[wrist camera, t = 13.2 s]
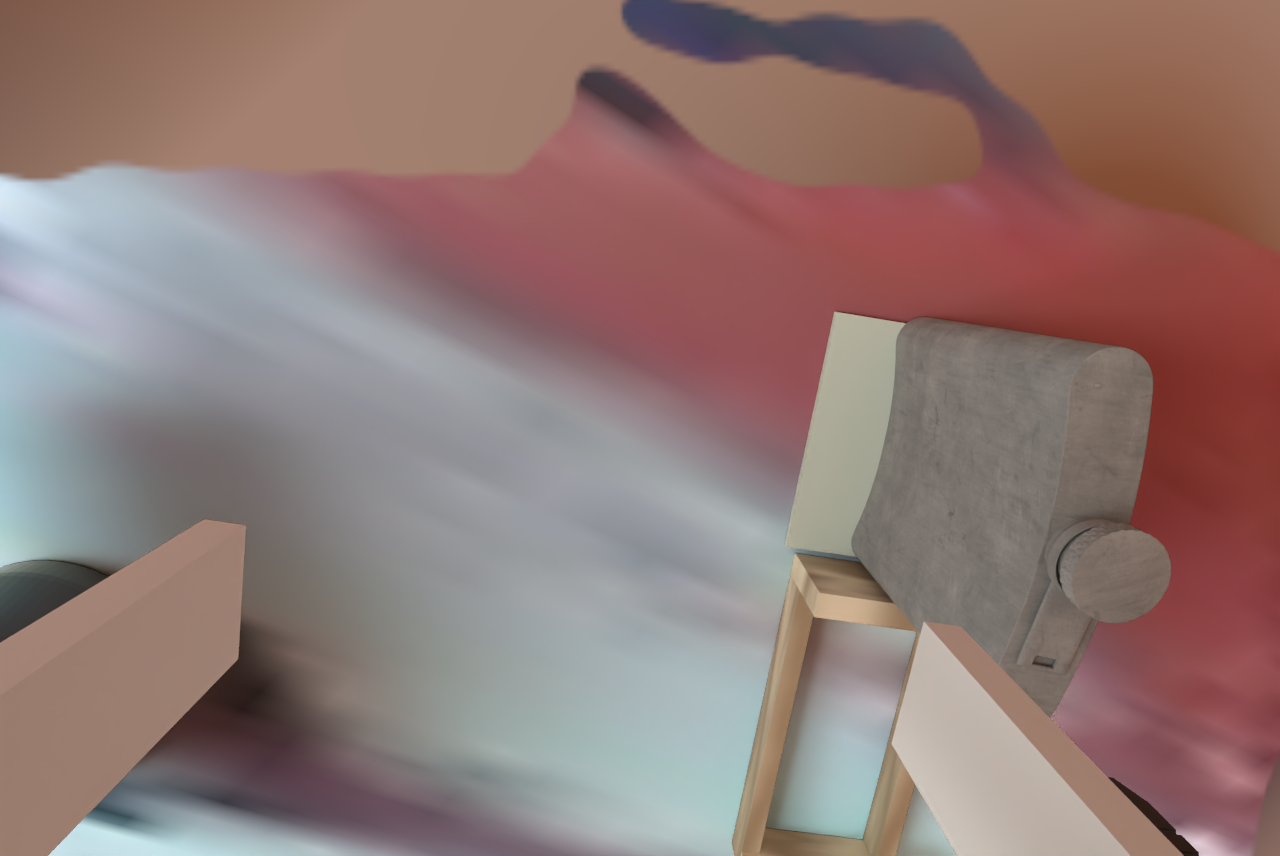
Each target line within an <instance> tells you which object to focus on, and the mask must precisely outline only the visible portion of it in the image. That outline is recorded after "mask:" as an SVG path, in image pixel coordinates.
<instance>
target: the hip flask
mask: <svg viewBox="0 0 1280 856" xmlns="http://www.w3.org/2000/svg"><path fill="white" fill-rule="evenodd" d="M1152 396H1153V375H1152V371H1151V368H1150V366H1149V364H1148V363H1147V361H1146V360H1145V359H1144V357H1142V356H1141V355H1140V354H1139V353H1137V352H1136V351H1133V350H1131V349H1129V348H1124V347H1119V346H1113V345H1106V344H1100V343H1093V342H1087V341H1080V340H1074V339H1067V338H1061V337H1054V336H1048V335H1041V334H1035V333H1028V332H1022V331H1015V330H1009V329H1002V328H996V327H989V326H983V325H976V324H970V323H963V322H957V321H950V320H944V319H937V318H931V317H918V318H915V319H912V320H911V321H909V322H907V323H906V324H905V325H904V326H903V327H902V329H901V330H900V332H899V334H898V336H897V339H896V361H895V378H894V388H893V396H892V404H891V411H890V416H889V422H888V427H887V432H886V436H885V440H884V445H883V449H882V453H881V458H880V461H879V465H878V469H877V472H876V476H875V479H874V482H873V485H872V488H871V491H870V494H869V497H868V500H867V502H866V505H865V508H864V510H863V513H862V515H861V517H860V520H859V522H858V524H857V526H856V528H855V531H854V533H853V535H852V540H851V547H852V550H853V552H854V554H855V556H856V557H857V558H858V559H859V561H860V562H861V563H862V564H863V565H864V567H865V568H866V569H867V570H868V571H869V573H870V574H871V575H872V576H873V578H874V579H875V580H876V581H877V582H878V584H879V585H880V586H881V587H882V589H883V590H884V591H885V592H886V593H887V595H888V596H889V597H890V598H891V599H892V601H893V602H894V603H895V604H896V606H897V607H898V608H899V609H900V610H901V612H902V613H903V614H904V615H905V616H906V618H907V619H908V620H909V621H910V623H911V624H912V625H913V626H914V627H915V629H916V630H917V631H918V632H919V634H921V630H922V627H923V623H924V621H926V622H933V623H940V624H947V625H954V626H961V627H962V628H963V629H964V630H965V631H966V632H967V633H968V634H969V635H970V636H971V637H972V638H973V639H974V640H975V642H976V643H977V644H978V645H979V646H980V647H981V648H982V649H983V650H984V651H985V652H986V653H987V654H988V655H989V656H990V657H991V658H992V659H993V660H994V661H995V662H996V663H997V664H998V665H999V666H1000V667H1001V668H1002V669H1003V670H1004V671H1005V672H1006V673H1007V674H1008V675H1009V676H1010V677H1011V679H1012V680H1013V681H1014V682H1015V683H1016V684H1017V685H1018V686H1019V687H1020V688H1021V689H1022V690H1023V691H1024V692H1025V693H1026V694H1027V695H1028V696H1029V697H1030V698H1031V699H1032V700H1033V701H1034V702H1035V703H1036V704H1037V705H1038V706H1039V707H1040V708H1041V709H1042V710H1043V711H1044V712H1045V713H1046V714H1047V716H1048V717H1050V716H1051V715H1052V714H1053V713H1054V711H1055V710H1056V708H1057V706H1058V704H1059V703H1060V701H1061V699H1062V697H1063V695H1064V693H1065V691H1066V690H1067V688H1068V686H1069V684H1070V682H1071V680H1072V678H1073V676H1074V674H1075V672H1076V670H1077V668H1078V666H1079V664H1080V662H1081V659H1082V657H1083V655H1084V653H1085V650H1086V648H1087V646H1088V644H1089V641H1090V639H1091V637H1092V634H1093V632H1094V629H1095V627H1096V624H1097V622H1098V620H1099V621H1101V622H1108V623H1111V624H1113V623H1124V622H1126V621H1132V620H1134V619H1135V618H1139V617H1141V616H1142V615H1144V614H1145V613H1147V612H1149V611H1150V610H1151V609H1152V608H1153V607H1154V606H1156V605H1157V604H1158V602H1159V600H1160V599H1161V598H1162V597H1163V596H1164V592H1165V591H1166V590H1167V589H1168V584H1169V582H1170V579H1171V577H1170V574H1171V571H1172V569H1171V566H1170V565H1171V560H1170V559H1169V557H1168V552H1167V551H1166V550H1165V548H1164V545H1163V544H1161V543H1160V542H1159V541H1158V539H1156V538H1154V537H1152V536H1151V535H1150V534H1148V533H1144V532H1143V531H1142V530H1140V529H1137V528H1134V527H1133V526H1132V525H1129V524H1130V520H1131V517H1132V513H1133V509H1134V505H1135V501H1136V496H1137V491H1138V487H1139V482H1140V478H1141V473H1142V467H1143V462H1144V456H1145V451H1146V445H1147V438H1148V431H1149V423H1150V416H1151V406H1152Z"/></svg>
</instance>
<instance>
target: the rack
mask: <svg viewBox="0 0 1280 856" xmlns="http://www.w3.org/2000/svg"><path fill="white" fill-rule="evenodd" d="M813 616H814V617H817V618H824V619H831V620H838V621H846V622H853V623H860V624H867V625H874V626H881V627H889V628H896V629H903V630H910V631H917V630H916V629H915V627H914V626H913V625H912V624H911V623H910V621H909V620H908V619H907V618H906V616H905V615H904V614H903V613H902V612H901V610H900V609H899V608H898V607H897V606H896V604H895V603H894V602H893V601H892V599H891V598H890V597H889V596H888V595H887V593H886V592H885V591H884V590H883V589H882V587H881V586H880V585H879V584H878V582H877V581H876V580H875V579H874V578H873V576H872V575H871V574H870V573H869V571H868V570H867V569H866V568H865V567H864V565H863V564H862V563H861V562H854V561H847V560H840V559H833V558H827V557H820V556H813V555H806V554H799V553H795V556H794V561H793V565H792V570H791V574H790V579H789V583H788V588H787V593H786V597H785V602H784V606H783V611H782V615H781V620H780V625H779V629H778V634H777V638H776V643H775V648H774V652H773V657H772V661H771V666H770V670H769V675H768V680H767V684H766V689H765V693H764V698H763V703H762V707H761V712H760V716H759V721H758V725H757V730H756V735H755V739H754V744H753V748H752V753H751V758H750V762H749V767H748V771H747V776H746V780H745V785H744V790H743V794H742V799H741V803H740V808H739V813H738V817H737V822H736V826H735V831H734V835H733V840H732V845H733V850H734V856H896V852H897V849H898V845H899V841H900V838H901V834H902V830H903V827H904V823H905V819H906V816H907V812H908V808H909V805H910V801H911V797H912V794H913V790H914V786H915V783H914V781H913V780H912V778H911V776H910V775H909V773H908V771H907V770H906V768H905V766H904V764H903V763H902V761H901V759H900V758H899V756H898V754H897V752H896V751H895V749H894V747H893V746H892V744H891V743H892V739H893V736H894V732H895V728H896V724H897V721H898V717H899V713H900V709H901V706H902V702H903V698H904V694H905V691H906V687H907V683H908V679H909V675H910V672H911V668H912V664H913V660H914V657H915V653H916V649H917V645H918V642H919V638H920V634H919V632H918V631H917V633H916V637H915V641H914V645H913V649H912V653H911V656H910V660H909V664H908V668H907V672H906V676H905V679H904V683H903V687H902V691H901V695H900V699H899V702H898V706H897V710H896V714H895V718H894V722H893V725H892V729H891V733H890V737H889V741H888V745H887V748H886V752H885V756H884V760H883V764H882V768H881V771H880V775H879V779H878V783H877V787H876V791H875V794H874V798H873V802H872V806H871V810H870V814H869V818H868V821H867V825H866V829H865V833H864V837H863V840H860V839H852V838H844V837H835V836H827V835H819V834H811V833H803V832H794V831H786V830H778V829H770V828H765V826H766V822H767V817H768V813H769V809H770V804H771V800H772V795H773V791H774V787H775V782H776V778H777V774H778V769H779V765H780V760H781V756H782V752H783V747H784V743H785V738H786V734H787V730H788V725H789V721H790V717H791V712H792V708H793V703H794V699H795V695H796V690H797V686H798V681H799V677H800V673H801V668H802V664H803V660H804V655H805V651H806V646H807V642H808V638H809V633H810V629H811V624H812V620H813Z"/></svg>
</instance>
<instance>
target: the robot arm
mask: <svg viewBox="0 0 1280 856" xmlns="http://www.w3.org/2000/svg"><path fill="white" fill-rule="evenodd" d="M245 538H246V525H241V524H234V523H227V522H220V521H213V520H206V519H204V520H202V521H200V522H199V523H197V524H195V525H194V526H192V527H190V528H189V529H187V530H185V531H184V532H182V533H180V534H179V535H177V536H175V537H174V538H172V539H171V540H169V541H167V542H166V543H164V544H162V545H161V546H159V547H157V548H156V549H154V550H152V551H151V552H149V553H147V554H146V555H144V556H142V557H141V558H139V559H138V560H136V561H134V562H133V563H131V564H129V565H128V566H126V567H124V568H123V569H121V570H119V571H118V572H116V573H114V574H113V575H111V576H109V577H108V576H106V575H103V574H101V573H99V572H97V571H94V570H91V569H89V568H86V567H82V566H79V565H75V564H71V563H65V562H58V561H43V560H41V561H26V562H20V563H14V564H10V565H7V566H4V567H1V568H0V856H48V855H49V854H50V853H51V852H52V851H53V850H54V849H55V848H56V847H57V846H58V845H59V844H60V843H61V841H62V840H63V839H64V838H65V837H66V836H67V835H68V834H69V833H70V832H71V831H72V830H73V829H74V828H75V827H76V826H77V825H78V824H79V823H80V822H81V821H82V820H83V819H84V818H85V817H86V816H87V815H88V814H89V813H90V812H91V811H92V809H93V808H94V807H95V806H96V805H97V804H98V803H99V802H100V801H101V800H102V799H103V798H104V797H105V796H106V795H107V794H108V793H109V792H110V791H111V790H112V789H113V788H114V787H115V786H116V785H117V784H118V783H119V782H120V781H121V780H122V779H123V777H124V776H125V775H126V774H127V773H128V772H129V771H130V770H131V769H132V768H133V767H134V766H135V765H136V764H137V763H138V762H139V761H140V760H141V759H142V758H143V757H144V756H145V755H146V754H147V753H148V752H149V751H150V750H151V749H152V748H153V746H154V745H155V744H156V743H157V742H158V741H159V740H160V739H161V738H162V737H163V736H164V735H165V734H166V733H167V732H168V731H169V730H170V729H171V728H172V727H173V726H174V725H175V724H176V723H177V722H178V721H179V720H180V719H181V718H182V717H183V716H184V714H185V713H186V712H187V711H188V710H189V709H190V708H191V707H192V706H193V705H194V704H195V703H196V702H197V701H198V700H199V699H200V698H201V697H202V696H203V695H204V694H205V693H206V692H207V691H208V690H209V689H210V688H211V687H212V686H213V685H214V684H215V682H216V681H217V680H218V679H219V678H220V677H221V676H222V675H223V674H224V673H225V672H226V671H227V670H228V669H229V668H230V667H231V666H232V665H233V664H234V663H235V662H236V661H237V660H238V655H239V639H240V622H241V605H242V588H243V572H244V555H245ZM891 744H892V746H893V747H894V749H895V751H896V752H897V754H898V756H899V758H900V759H901V761H902V763H903V764H904V766H905V768H906V770H907V771H908V773H909V775H910V776H911V778H912V780H913V781H914V783H915V785H916V787H917V788H918V790H919V792H920V793H921V795H922V797H923V799H924V800H925V802H926V804H927V805H928V807H929V809H930V811H931V812H932V814H933V816H934V817H935V819H936V821H937V823H938V824H939V826H940V828H941V829H942V831H943V833H944V834H945V836H946V838H947V840H948V841H949V843H950V845H951V846H952V848H953V850H954V852H955V853H956V855H957V856H1199V855H1198V854H1199V852H1198V851H1196V850H1195V849H1194V848H1193V847H1192V846H1191V845H1190V844H1189V843H1188V842H1187V841H1186V840H1185V839H1184V838H1183V837H1182V836H1181V835H1177V834H1176V830H1175V829H1174V828H1173V827H1172V826H1171V825H1170V824H1169V823H1168V822H1167V821H1166V820H1165V819H1164V818H1163V817H1162V816H1161V815H1160V814H1159V813H1158V812H1157V811H1156V810H1155V809H1154V808H1153V807H1152V806H1151V805H1150V804H1149V803H1148V802H1147V801H1145V800H1144V799H1143V798H1141V797H1140V796H1138V795H1137V794H1135V793H1134V792H1132V791H1131V790H1130V789H1128V788H1127V787H1125V786H1124V785H1122V784H1121V783H1120V782H1118V781H1117V780H1115V779H1114V778H1110V777H1107V776H1106V775H1105V774H1104V773H1103V772H1102V771H1101V770H1100V769H1099V768H1098V767H1097V766H1096V765H1095V764H1094V763H1093V762H1092V761H1091V760H1090V759H1089V758H1088V757H1087V756H1086V755H1085V754H1084V753H1083V751H1082V750H1081V749H1080V748H1079V747H1078V746H1077V745H1076V744H1075V743H1074V742H1073V741H1072V740H1071V739H1070V738H1069V737H1068V736H1067V735H1066V734H1065V733H1064V732H1063V731H1062V730H1061V729H1060V728H1059V727H1058V726H1057V725H1056V724H1055V723H1054V722H1053V721H1052V720H1051V719H1050V718H1049V717H1048V716H1047V714H1046V713H1045V712H1044V711H1043V710H1042V709H1041V708H1040V707H1039V706H1038V705H1037V704H1036V703H1035V702H1034V701H1033V700H1032V699H1031V698H1030V697H1029V696H1028V695H1027V694H1026V693H1025V692H1024V691H1023V690H1022V689H1021V688H1020V687H1019V686H1018V685H1017V684H1016V683H1015V682H1014V681H1013V680H1012V679H1011V677H1010V676H1009V675H1008V674H1007V673H1006V672H1005V671H1004V670H1003V669H1002V668H1001V667H1000V666H999V665H998V664H997V663H996V662H995V661H994V660H993V659H992V658H991V657H990V656H989V655H988V654H987V653H986V652H985V651H984V650H983V649H982V648H981V647H980V646H979V645H978V644H977V643H976V642H975V640H974V639H973V638H972V637H971V636H970V635H969V634H968V633H967V632H966V631H965V630H964V629H963V628H962V627H961V626H954V625H947V624H940V623H933V622H926V621H924V623H923V627H922V630H921V634H920V638H919V642H918V645H917V649H916V653H915V657H914V660H913V664H912V668H911V672H910V675H909V679H908V683H907V687H906V691H905V694H904V698H903V702H902V706H901V709H900V713H899V717H898V721H897V724H896V728H895V732H894V736H893V739H892V743H891Z"/></svg>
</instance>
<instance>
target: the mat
mask: <svg viewBox="0 0 1280 856" xmlns="http://www.w3.org/2000/svg"><path fill="white" fill-rule="evenodd" d="M905 324H906V323H901V322H895V321H889V320H883V319H877V318H871V317H865V316H859V315H852V314H846V313H840V312H834V316H833V321H832V325H831V330H830V335H829V339H828V344H827V349H826V353H825V358H824V363H823V367H822V372H821V377H820V381H819V386H818V391H817V395H816V400H815V405H814V409H813V414H812V419H811V423H810V428H809V433H808V437H807V442H806V447H805V451H804V456H803V461H802V465H801V470H800V475H799V479H798V484H797V489H796V493H795V498H794V503H793V507H792V512H791V517H790V521H789V526H788V531H787V535H786V540H785V545H786V547H791V548H798V549H805V550H812V551H818V552H825V553H832V554H839V555H846V556H853V557H856V556H855V554H854V552H853V550H852V547H851V540H852V535H853V533H854V531H855V528H856V526H857V524H858V522H859V520H860V517H861V515H862V513H863V510H864V508H865V505H866V502H867V500H868V497H869V494H870V491H871V488H872V485H873V482H874V479H875V476H876V472H877V469H878V465H879V461H880V458H881V453H882V449H883V445H884V440H885V436H886V432H887V427H888V422H889V416H890V411H891V404H892V396H893V388H894V378H895V361H896V339H897V336H898V334H899V332H900V330H901V329H902V327H903V326H904V325H905Z"/></svg>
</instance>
